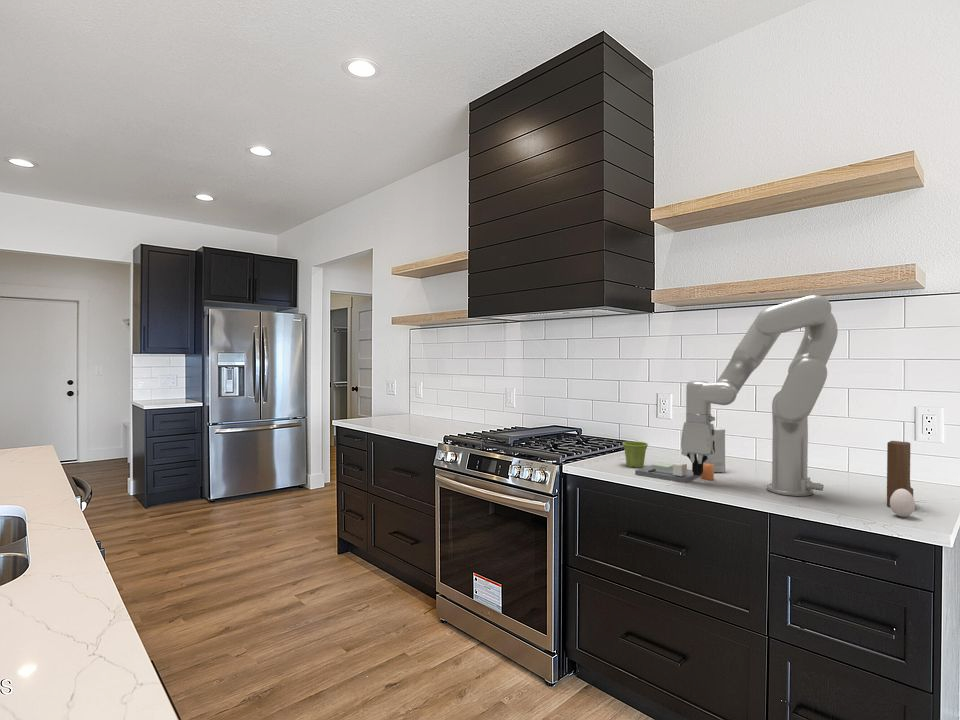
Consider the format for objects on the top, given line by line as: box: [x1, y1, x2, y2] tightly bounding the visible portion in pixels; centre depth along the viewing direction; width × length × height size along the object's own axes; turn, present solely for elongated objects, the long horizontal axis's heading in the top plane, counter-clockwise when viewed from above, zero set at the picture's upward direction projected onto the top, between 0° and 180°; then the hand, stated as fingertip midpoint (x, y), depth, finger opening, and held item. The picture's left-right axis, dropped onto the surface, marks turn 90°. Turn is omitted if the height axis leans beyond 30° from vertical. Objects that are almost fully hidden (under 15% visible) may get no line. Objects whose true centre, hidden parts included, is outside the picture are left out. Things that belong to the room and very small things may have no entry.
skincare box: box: [697, 426, 726, 474], centre depth 202 cm, size 8×7×16 cm
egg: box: [889, 489, 916, 518], centre depth 146 cm, size 5×5×7 cm
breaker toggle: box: [673, 462, 688, 476], centre depth 188 cm, size 3×4×4 cm
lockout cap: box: [700, 463, 715, 481], centre depth 190 cm, size 4×4×5 cm
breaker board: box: [634, 464, 701, 484], centre depth 196 cm, size 18×14×2 cm
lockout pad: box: [651, 462, 674, 470], centre depth 202 cm, size 6×6×1 cm
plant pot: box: [622, 440, 649, 468], centre depth 211 cm, size 9×9×9 cm
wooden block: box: [886, 440, 914, 508], centre depth 157 cm, size 9×4×18 cm, turn 133°
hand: (697, 474), depth 184 cm, fingers closed
